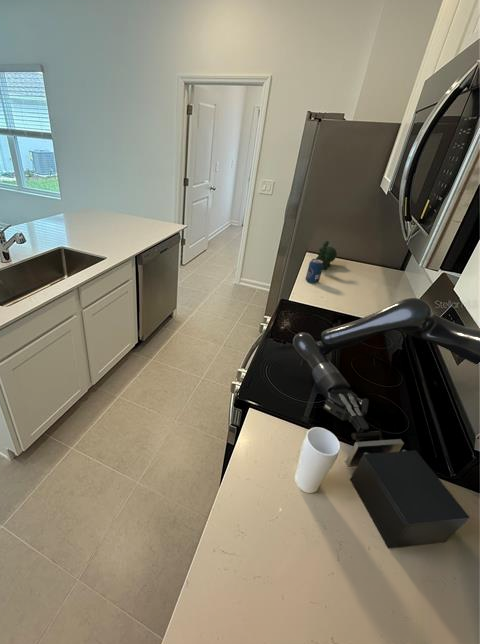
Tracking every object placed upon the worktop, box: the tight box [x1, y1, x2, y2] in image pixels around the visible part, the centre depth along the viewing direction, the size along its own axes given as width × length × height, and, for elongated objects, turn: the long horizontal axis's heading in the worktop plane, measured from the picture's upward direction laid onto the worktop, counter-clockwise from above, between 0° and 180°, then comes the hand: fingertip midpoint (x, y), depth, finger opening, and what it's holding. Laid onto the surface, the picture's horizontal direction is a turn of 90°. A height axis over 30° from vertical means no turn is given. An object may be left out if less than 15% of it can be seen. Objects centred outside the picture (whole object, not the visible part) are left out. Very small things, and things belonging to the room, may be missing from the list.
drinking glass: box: [294, 426, 341, 494], centre depth 67 cm, size 7×7×15 cm
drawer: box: [345, 430, 407, 468], centre depth 69 cm, size 16×11×8 cm
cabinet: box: [349, 449, 470, 550], centre depth 64 cm, size 14×13×10 cm
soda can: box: [305, 258, 323, 285], centre depth 163 cm, size 7×7×12 cm
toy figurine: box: [315, 240, 338, 271], centre depth 181 cm, size 9×19×25 cm
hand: (365, 431), depth 75 cm, fingers closed
